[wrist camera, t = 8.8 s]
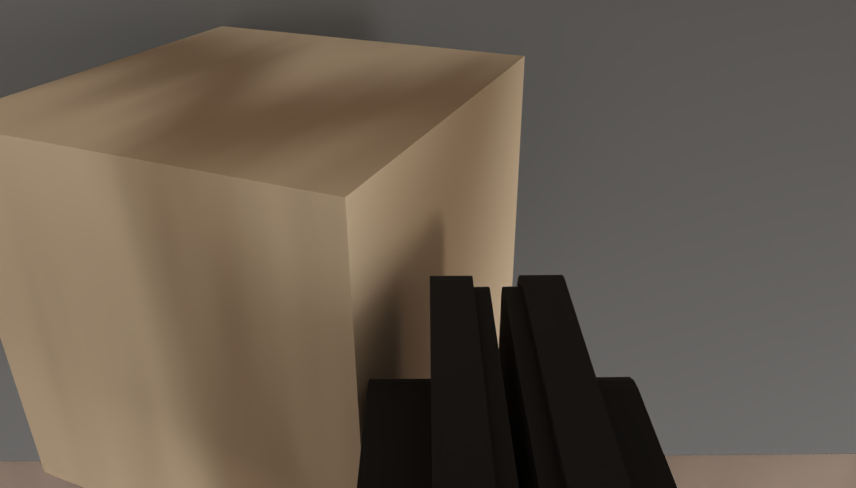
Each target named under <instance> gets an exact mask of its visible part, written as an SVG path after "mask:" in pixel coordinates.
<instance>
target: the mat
mask: <svg viewBox="0 0 856 488" xmlns="http://www.w3.org/2000/svg"><path fill="white" fill-rule="evenodd" d="M221 26H226V27H236V28H246V29H256V30H266V31H276V32H287V33H297V34H307V35H317V36H327V37H337V38H347V39H358V40H368V41H378V42H388V43H398V44H408V45H418V46H428V47H439V48H449V49H459V50H469V51H479V52H489V53H499V54H509V55H520V56H525V61H524V79H523V98H522V116H521V135H520V153H519V172H518V190H517V208H516V227H515V245H514V264H513V282H512V286H517V281H518V277H519V275H563V276H564V278H565V281H566V284H567V287H568V291H569V294H570V297H571V300H572V303H573V306H574V309H575V312H576V316H577V319H578V322H579V325H580V328H581V331H582V334H583V338H584V341H585V344H586V347H587V350H588V353H589V356H590V359H591V363H592V366H593V369H594V372H595V375H596V377H630V378H632V379H633V380H634V381H635V383H636V385H637V387H638V389H639V392H640V394H641V397H642V399H643V402H644V404H645V407H646V410H647V412H648V415H649V417H650V420H651V422H652V425H653V427H654V430H655V433H656V435H657V438H658V440H659V443H660V445H661V448H662V451H663V453H664V455H767V454H856V0H0V98H2V97H5V96H9V95H12V94H15V93H18V92H21V91H24V90H27V89H30V88H33V87H36V86H39V85H42V84H45V83H49V82H52V81H55V80H58V79H61V78H64V77H67V76H70V75H73V74H76V73H79V72H82V71H85V70H88V69H92V68H95V67H98V66H101V65H104V64H107V63H110V62H113V61H116V60H119V59H122V58H125V57H128V56H132V55H135V54H138V53H141V52H144V51H147V50H150V49H153V48H156V47H159V46H162V45H165V44H168V43H172V42H175V41H178V40H181V39H184V38H187V37H190V36H193V35H196V34H199V33H202V32H205V31H208V30H211V29H215V28H218V27H221ZM0 461H41V460H40V457H39V454H38V451H37V448H36V445H35V442H34V439H33V436H32V433H31V430H30V427H29V424H28V421H27V418H26V415H25V412H24V409H23V405H22V402H21V399H20V396H19V393H18V390H17V387H16V384H15V381H14V378H13V375H12V372H11V369H10V366H9V363H8V360H7V357H6V354H5V351H4V348H3V345H2V341H1V338H0Z"/></svg>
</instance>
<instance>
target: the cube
mask: <svg viewBox="0 0 856 488" xmlns="http://www.w3.org/2000/svg"><path fill="white" fill-rule="evenodd" d="M524 61H525V56H520V55H509V54H499V53H489V52H479V51H469V50H459V49H449V48H439V47H428V46H418V45H408V44H398V43H388V42H378V41H368V40H358V39H347V38H337V37H327V36H317V35H307V34H297V33H287V32H276V31H266V30H256V29H246V28H236V27H226V26H221V27H218V28H215V29H211V30H208V31H205V32H202V33H199V34H196V35H193V36H190V37H187V38H184V39H181V40H178V41H175V42H172V43H168V44H165V45H162V46H159V47H156V48H153V49H150V50H147V51H144V52H141V53H138V54H135V55H132V56H128V57H125V58H122V59H119V60H116V61H113V62H110V63H107V64H104V65H101V66H98V67H95V68H92V69H88V70H85V71H82V72H79V73H76V74H73V75H70V76H67V77H64V78H61V79H58V80H55V81H52V82H49V83H45V84H42V85H39V86H36V87H33V88H30V89H27V90H24V91H21V92H18V93H15V94H12V95H9V96H5V97H2V98H0V338H1V341H2V345H3V348H4V351H5V354H6V357H7V360H8V363H9V366H10V369H11V372H12V375H13V378H14V381H15V384H16V387H17V390H18V393H19V396H20V399H21V402H22V405H23V409H24V412H25V415H26V418H27V421H28V424H29V427H30V430H31V433H32V436H33V439H34V442H35V445H36V448H37V451H38V454H39V457H40V460H41V463H42V466H43V469H44V472H45V473H48V474H50V475H53V476H55V477H58V478H60V479H63V480H65V481H68V482H71V483H73V484H76V485H78V486H81V487H83V488H357V481H358V471H359V462H360V452H361V443H362V433H363V423H364V414H365V404H366V395H367V387H368V382H369V379H431V365H430V276H472V277H473V284H474V287H490V293H491V299H492V306H493V313H494V320H495V327H496V334H497V341H498V347H499V332H500V310H501V292H502V287H508V286H512V282H513V264H514V245H515V227H516V208H517V190H518V172H519V153H520V135H521V116H522V98H523V79H524Z"/></svg>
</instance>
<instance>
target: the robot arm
mask: <svg viewBox="0 0 856 488" xmlns="http://www.w3.org/2000/svg"><path fill="white" fill-rule="evenodd" d="M430 365H431V379H369V382H368V387H367V395H366V404H365V414H364V423H363V433H362V443H361V452H360V462H359V471H358V481H357V488H677V487H676V484H675V481H674V479H673V476H672V474H671V471H670V469H669V466H668V463H667V461H666V458H665V456H664V453H663V451H662V448H661V445H660V443H659V440H658V438H657V435H656V433H655V430H654V427H653V425H652V422H651V420H650V417H649V415H648V412H647V410H646V407H645V404H644V402H643V399H642V397H641V394H640V392H639V389H638V387H637V385H636V383H635V381H634V380H633V379H632V378H630V377H596V375H595V372H594V369H593V366H592V363H591V359H590V356H589V353H588V350H587V347H586V344H585V341H584V338H583V334H582V331H581V328H580V325H579V322H578V319H577V316H576V312H575V309H574V306H573V303H572V300H571V297H570V294H569V291H568V287H567V284H566V281H565V278H564V276H563V275H519V277H518V281H517V286H508V287H502V292H501V310H500V332H499V347H498V341H497V334H496V327H495V320H494V313H493V306H492V299H491V293H490V287H474V284H473V277H472V276H430Z"/></svg>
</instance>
